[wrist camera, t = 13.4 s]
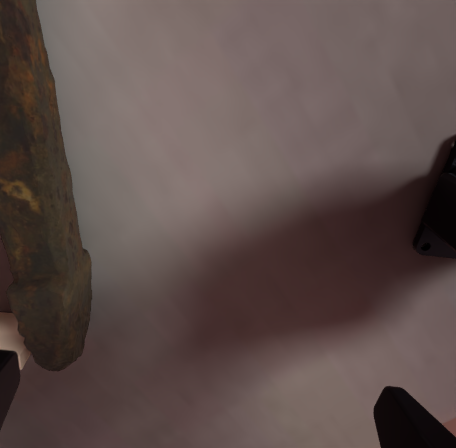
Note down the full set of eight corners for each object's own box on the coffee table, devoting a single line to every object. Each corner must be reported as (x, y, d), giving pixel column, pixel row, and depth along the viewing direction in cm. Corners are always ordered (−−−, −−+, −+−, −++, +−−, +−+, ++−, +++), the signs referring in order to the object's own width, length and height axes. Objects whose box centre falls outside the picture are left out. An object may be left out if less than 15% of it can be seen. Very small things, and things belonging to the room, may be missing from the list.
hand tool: (-59, -67, 14) (-180, -112, 9) (51, -60, 14) (-18, -102, 10) (39, 326, 22) (-1, 393, 18) (107, 326, 22) (83, 393, 18)
